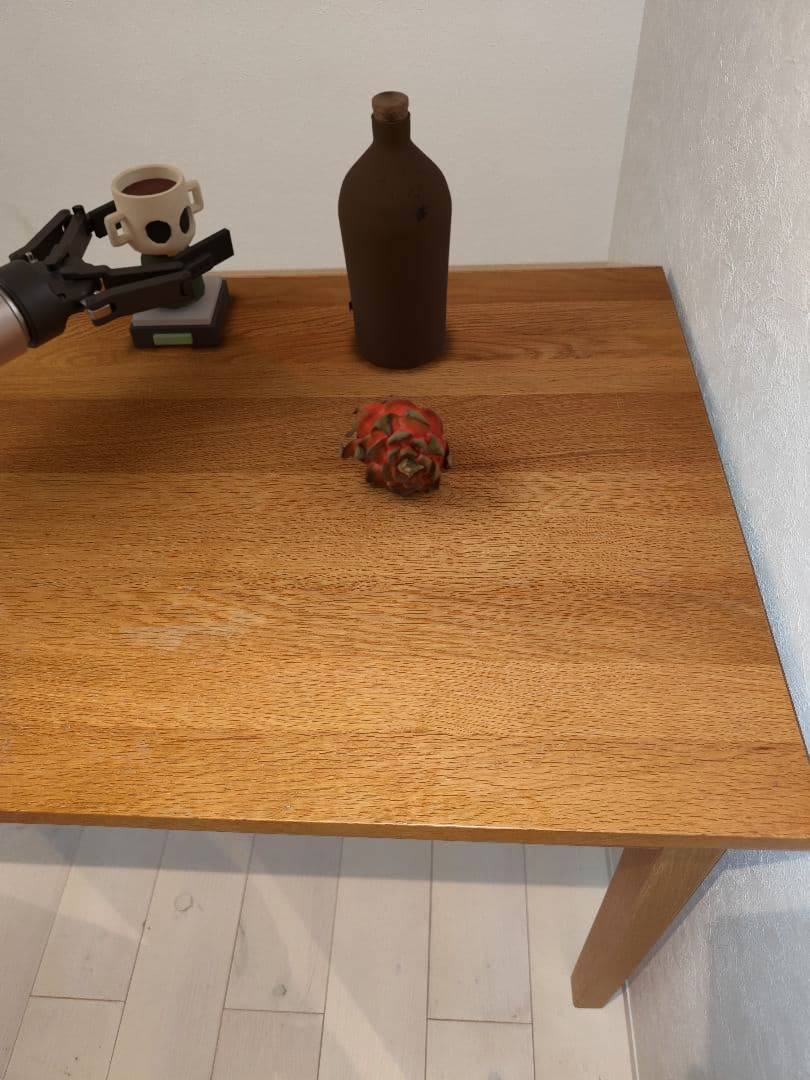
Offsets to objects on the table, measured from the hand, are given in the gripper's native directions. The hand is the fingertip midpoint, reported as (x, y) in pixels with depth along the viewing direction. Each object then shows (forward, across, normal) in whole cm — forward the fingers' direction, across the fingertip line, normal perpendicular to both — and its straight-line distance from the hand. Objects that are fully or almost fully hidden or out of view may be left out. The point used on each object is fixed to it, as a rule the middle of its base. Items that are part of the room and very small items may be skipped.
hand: (185, 220), depth 92 cm
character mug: (-3, 0, -8) cm, 8 cm away
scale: (-3, 0, -11) cm, 11 cm away
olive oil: (+9, +21, -11) cm, 25 cm away
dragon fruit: (-7, +34, -11) cm, 36 cm away
